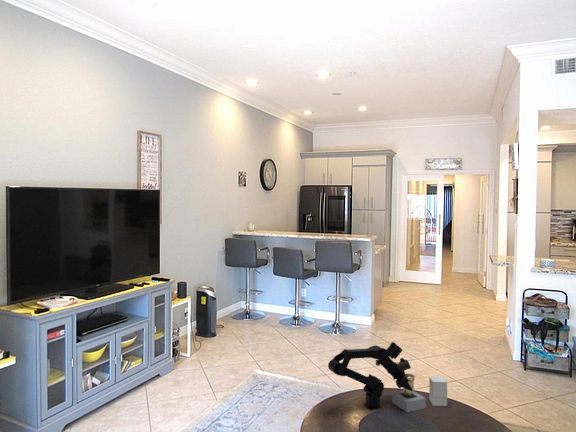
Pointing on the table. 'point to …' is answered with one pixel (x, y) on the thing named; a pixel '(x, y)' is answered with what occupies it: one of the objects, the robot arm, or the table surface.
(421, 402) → the block
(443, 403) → the supplement box
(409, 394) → the brass bushing
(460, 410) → the table surface
